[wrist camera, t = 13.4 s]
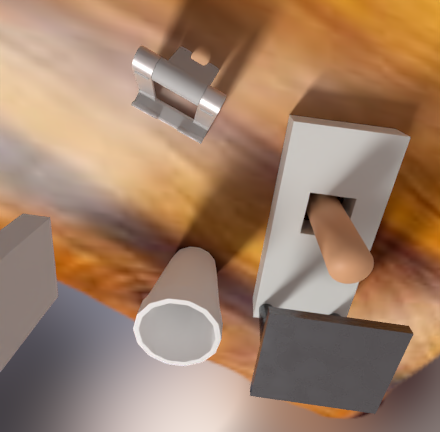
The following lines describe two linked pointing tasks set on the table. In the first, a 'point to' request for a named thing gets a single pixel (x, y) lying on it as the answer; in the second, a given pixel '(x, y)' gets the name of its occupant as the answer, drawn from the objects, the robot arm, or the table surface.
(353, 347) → the dark grey l-shaped piece
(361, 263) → the peg
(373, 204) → the board
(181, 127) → the portable electronic device stand
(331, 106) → the table surface
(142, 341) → the foam cup
